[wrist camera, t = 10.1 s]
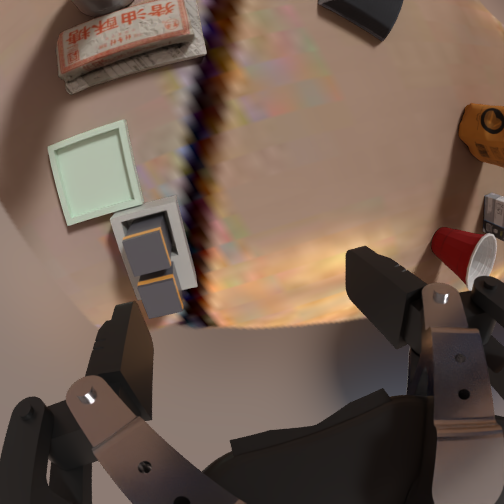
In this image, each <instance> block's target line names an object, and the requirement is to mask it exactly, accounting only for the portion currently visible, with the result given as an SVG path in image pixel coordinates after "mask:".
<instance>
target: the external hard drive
mask: <svg viewBox="0 0 504 504" xmlns="http://www.w3.org/2000/svg"><path fill="white" fill-rule="evenodd" d="M402 3H403V0H319V2H318V4H320V5H321V6H323V7H325V8H327V9H329V10H331V11H333V12H335V13H336V14H338V15H340V16H342V17H344V18H346V19H347V20H349V21H351V22H352V23H354V24H356V25H357V26H359V27H361V28H362V29H364V30H366V31H367V32H369V33H370V34H372V35H373V36H375V37H376V38H378V39H379V40H381V41H384V40H385V38H386V37H387V36H388V34H389V33H390V31H391V29H392V28H393V26H394V24H395V22H396V20H397V17H398V15H399V12H400V10H401V7H402Z"/></svg>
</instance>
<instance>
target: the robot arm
mask: <svg viewBox="0 0 504 504" xmlns="http://www.w3.org/2000/svg"><path fill="white" fill-rule="evenodd" d="M72 1H73V3H74V4H75V5H76V6H77V7H78V9H79V10H80V11H81V12H82V13H84V14H86V15H89V16H95V17H98V16H103V15H106V14H109V13H112V12H115V11H118V10H121V9H123V8H124V7H126V6H127V5H129V4H130V3H131V2H132V1H133V0H72ZM346 291H347V295H348V297H349V299H350V300H351V301H352V302H353V303H354V304H355V305H356V306H357V308H358V309H359V310H360V311H361V312H362V313H363V314H364V315H365V316H366V317H367V318H368V319H369V320H370V321H371V322H372V323H373V324H374V326H375V327H376V328H377V329H378V330H379V331H380V332H381V333H382V334H383V335H384V336H385V337H386V339H387V340H388V341H389V342H390V343H391V344H392V345H393V346H394V347H395V348H396V349H399V348H401V347H402V346H405V345H407V344H409V345H410V350H409V359H408V361H409V362H408V380H407V393H406V395H399V396H392V397H389V396H388V394H387V393H386V392H385V390H384V389H383V388H382V389H380V390H378V391H375V392H373V393H371V394H369V395H367V396H364V397H362V398H360V399H358V400H355V401H353V402H350V403H349V404H347V405H346V406H344V407H343V408H341V409H340V410H339V411H337V412H336V413H334V414H333V415H331V416H330V417H328V418H327V419H325V420H323V421H322V422H321V423H319V424H317V425H314V426H308V427H301V428H290V429H279V430H269V431H266V432H262V433H258V434H254V435H251V436H246V437H242V438H238V439H233V440H230V443H231V447H232V451H231V452H229V453H227V454H225V455H223V456H222V457H220V458H218V459H217V460H215V461H214V462H213V463H211V464H210V465H209V466H208V467H206V468H205V470H203V471H202V472H201V471H200V470H199V469H197V468H196V467H195V466H194V465H192V464H191V463H190V462H189V461H188V460H186V459H185V458H184V457H183V456H182V455H180V454H179V453H178V452H177V451H176V450H175V449H174V448H173V447H171V446H170V445H169V444H168V443H167V442H166V441H165V440H164V439H163V438H162V437H161V436H159V435H158V434H157V433H156V432H155V431H154V430H153V429H152V428H151V427H150V426H149V425H148V424H147V423H146V422H145V421H149V420H152V380H153V354H154V348H153V342H152V338H151V335H150V333H149V330H148V328H147V326H146V323H145V321H144V318H143V316H142V314H141V311H140V309H139V306H138V304H137V303H136V302H135V301H133V302H128V303H124V304H119V305H116V306H115V309H114V312H113V315H112V319H111V320H109V321H106V322H105V323H104V324H103V325H102V327H101V328H100V329H99V330H98V334H97V337H96V340H95V341H96V342H95V343H94V347H93V351H92V353H91V357H90V360H89V364H88V368H87V371H86V375H85V377H83V378H81V379H79V380H77V381H76V382H74V384H72V385H71V387H70V388H69V390H68V392H67V394H66V400H64V401H61V402H59V403H56V404H53V405H51V406H48V407H47V406H46V405H45V404H44V403H43V401H42V400H41V399H40V398H38V397H28V398H25V399H23V400H22V401H21V402H19V403H18V405H17V406H16V407H15V408H14V410H13V412H12V415H11V419H10V422H9V425H8V429H7V433H6V437H5V441H4V445H3V449H2V453H1V458H0V504H92V484H91V483H92V479H91V477H92V462H95V461H99V462H100V464H101V465H102V466H103V468H104V469H105V470H106V472H107V473H108V474H109V475H110V477H111V478H112V480H113V481H114V482H115V483H116V485H117V486H118V487H119V488H120V490H121V491H122V492H123V493H124V494H125V496H126V497H127V498H128V499H129V500H130V501H131V502H132V504H504V417H501V416H497V415H494V407H493V398H492V391H491V386H492V387H493V388H494V389H495V390H496V391H497V392H498V393H499V395H500V396H501V397H502V398H503V399H504V346H503V345H502V344H500V343H499V342H498V341H497V340H496V339H495V338H494V337H493V336H492V335H491V334H492V331H493V329H494V326H495V323H496V321H497V322H498V323H499V324H500V325H501V326H503V327H504V283H503V282H501V281H500V280H498V279H496V278H494V277H491V276H479V277H477V278H476V279H475V280H474V283H473V287H472V291H466V292H460V293H459V292H458V291H457V290H456V289H455V288H454V287H452V286H450V285H448V284H444V283H431V284H426V283H425V282H423V281H422V280H421V279H419V278H418V277H416V276H415V275H414V274H412V273H411V272H409V271H408V270H407V271H406V269H405V268H404V267H402V266H401V265H400V266H399V264H398V263H397V262H395V261H394V260H392V259H391V258H388V257H385V256H382V255H379V254H377V253H376V252H374V251H373V250H371V249H370V248H368V247H367V246H362V247H358V248H355V249H351V250H348V251H347V253H346ZM48 459H49V460H50V461H51V470H50V482H49V486H48V484H47V480H46V473H47V463H48Z"/></svg>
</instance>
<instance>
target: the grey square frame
mask: <svg viewBox="0 0 504 504" xmlns="http://www.w3.org/2000/svg"><path fill="white" fill-rule="evenodd" d="M160 212H164V214H165V218H166V222H167V225H168V229H169V232H170V236H171V240H172V248H171V266H170V268H167V269H163V270H160V271H156V272H152V273H148V274H144V275H140V276H136V277H134V275H133V272H132V269H131V266H130V264H129V261H128V258H127V255H126V252H125V250H124V247H123V244H122V241H123V240H122V239H123V237H125V235H126V233H127V231H128V229H129V227H130V226H131V224H132V222H133V220H135V219H139V218H142V217H146V216H149V215H153V214H157V213H160ZM110 221H111V225H112V228H113V231H114V235H115V238H116V241H117V244H118V247H119V250H120V253H121V256H122V259H123V262H124V265H125V268H126V270H127V273H128V276H129V279H130V282H131V284H132V287H133V290H134V292H135V295H136V297H137V300H142V302H143V305H144V307H145V310H146V312H147V315H148V317H149V319H151V318H155V317H160V316H164V315H169V314H173V313H177V312H182V311H183V303H182V290H185V289H189V288H193V287H197V279H196V272H195V268H194V265H193V261H192V257H191V253H190V249H189V246H188V242H187V238H186V234H185V230H184V226H183V221H182V217H181V213H180V209H179V205H178V200H177V196H176V195H174V196H170V197H166V198H162V199H158V200H154V201H150V202H146V203H143V204H141V205H137V206H134V207H130V208H126V209H123V210H119V211H116V212H115V213H114V215H113V216H112V217H111V218H110Z"/></svg>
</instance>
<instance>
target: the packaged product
mask: <svg viewBox="0 0 504 504" xmlns="http://www.w3.org/2000/svg"><path fill="white" fill-rule="evenodd" d="M206 54H207V53H206V47H205V42H204V38H203V33H202V28H201V22H200V17H199V12H198V8H197V3H196V0H154V1H150V2H146V3H142V4H138V5H135V6H131V7H128V8H124V9H121V10H118V11H115V12H112V13H109V14H106V15H103V16H100V17H97V18H95V19H92V20H89V21H87V22H84V23H82V24H79V25H77V26H75V27H72V28H70V29H67V30H65V31H63V32H61V33H60V34H59V37H58V41H57V48H56V55H57V61H58V63H57V66H58V77H59V78H61V80H62V79H64V81H65V86H66V91H67V93H69V94H70V95H71V94H74V93H77V92H79V91H82V90H84V89H86V88H89V87H91V86H94V85H97V84H101V83H104V82H107V81H111V80H114V79H117V78H120V77H123V76H127V75H130V74H134V73H138V72H141V71H145V70H149V69H152V68H156V67H160V66H164V65H168V64H172V63H176V62H180V61H185V60H189V59H193V58H197V57H201V56H205V55H206Z"/></svg>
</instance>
